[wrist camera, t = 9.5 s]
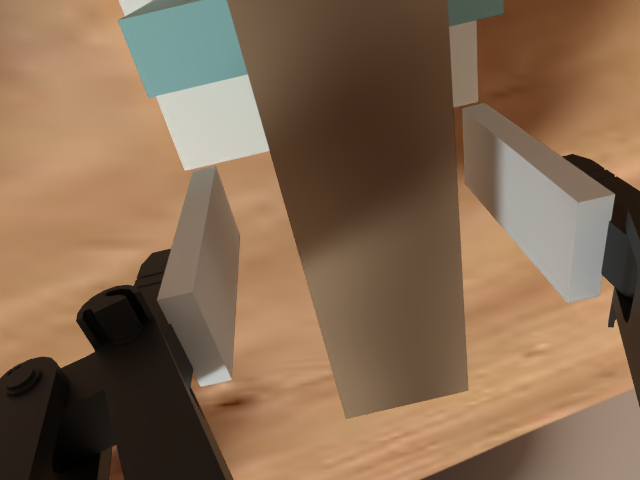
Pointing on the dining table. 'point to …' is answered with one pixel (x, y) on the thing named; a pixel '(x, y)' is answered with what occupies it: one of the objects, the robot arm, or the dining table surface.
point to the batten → (367, 184)
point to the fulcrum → (240, 72)
